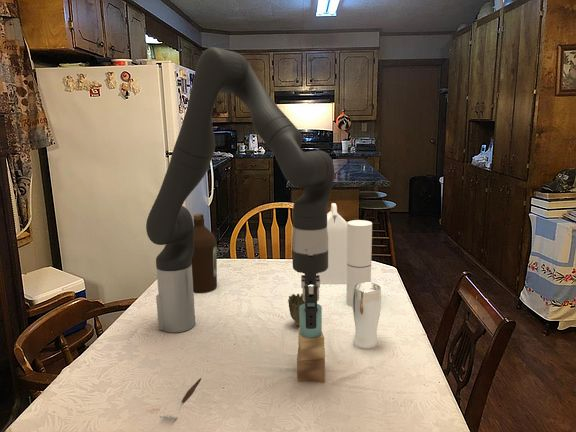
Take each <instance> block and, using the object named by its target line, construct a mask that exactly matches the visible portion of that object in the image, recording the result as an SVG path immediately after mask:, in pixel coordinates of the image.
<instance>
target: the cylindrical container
mask: <svg viewBox="0 0 576 432" xmlns="http://www.w3.org/2000/svg"><path fill="white" fill-rule="evenodd" d="M346 222H347V284H346V302H345V303H346V305H347V306H349V307H351V308H353V305H352V301H353V289H354V285H355V284H357V283H362V282H370V283H372V247H373V246H372V245H373V244H372V243H373V222H372V221H369V220H364V219H362V220H361V219H353V220H349V221H346Z"/></svg>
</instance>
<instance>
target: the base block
mask: <svg viewBox="0 0 576 432" xmlns="http://www.w3.org/2000/svg"><path fill="white" fill-rule="evenodd" d="M296 357H297V359H296V375H297V376H296V378H297V379H296V381H297V382H299V383H326V348H325V347H324V359H319V360H303V361H301V357H300V353H299V346H298V348H297V356H296Z"/></svg>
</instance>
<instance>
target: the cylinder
mask: <svg viewBox="0 0 576 432" xmlns="http://www.w3.org/2000/svg"><path fill="white" fill-rule="evenodd" d="M308 306H314V307H315V304H314V303H307V307H308ZM304 308H305V304H302V305H300V307H299V317H300V327H299V329H300V335H301V336H303V337H306V338H316V337H319V336H320V335H321V334H322V333H323V329H322V326H323V325H322V322H323V317H322V314H323V313H322V312H323V311H322V310H323V307H322V305H321V304H319V303H317V308H318V311H317V313H316V328H315V329H307V328H306V313H305V311H304Z"/></svg>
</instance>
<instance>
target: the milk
mask: <svg viewBox="0 0 576 432" xmlns="http://www.w3.org/2000/svg"><path fill="white" fill-rule="evenodd" d="M347 222H348V221H346V219H345V218H343V217H342V215H341V214H339V212H338V206H337V204H336V202H335V203H334V202H332V203H331V205H330V211H329V212H327V231H328V269H327V270H326V271H324V272H322V273H318V274H316V275H319V276H320V285H347Z"/></svg>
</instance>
